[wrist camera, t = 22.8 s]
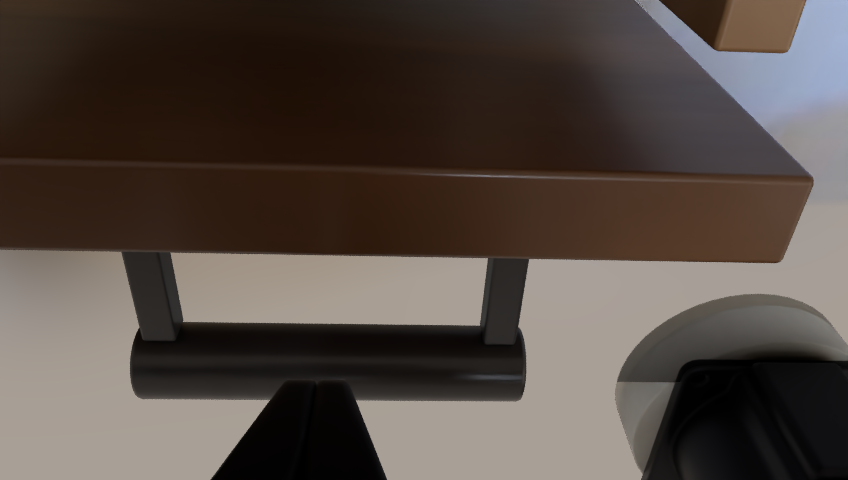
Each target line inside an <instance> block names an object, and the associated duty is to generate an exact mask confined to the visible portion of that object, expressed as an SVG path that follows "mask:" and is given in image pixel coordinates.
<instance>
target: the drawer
mask: <svg viewBox="0 0 848 480" xmlns="http://www.w3.org/2000/svg"><path fill="white" fill-rule="evenodd" d="M659 1H660V2H662V3H663V4H664V5H665V6H666V7H667V8H668V9H669V10H670V11H672V12H673V13H674V14H675V15H676V16H677V17H678V18H679V19H680V20H682V21H683V22H684V23H685V24H686V25H687V26H688V27H689V28H691V29H692V30H693V31H694V32H695V33H696V34H697V35H698V36H699V37H701V38H702V39H703V40H704V41H705V42H706V43H707V44H708V45H709V46H711V47H712V48H713V49H714V50H716V51H728V52H757V53H785V52H787V51H788V50H789V49H790V46H791V43H792V40H793V37H794V34H795V32H796V29H797V26H798V23H799V20H800V17H801V14H802V11H803V8H804V6H805V3H806V0H659ZM813 181H814V180H813V177H812V176H811V175H810V174H809V173H808V172H807V171H806V170H805V169H804V168H803V167H802V166H801V165H800V164H799V163H798V162H797V161H796V160H795V159H794V158H793V157H792V156H791V155H790V154H789V153H788V152H787V151H786V150H785V149H784V148H783V147H782V146H781V145H780V144H779V143H778V142H777V141H776V140H775V139H774V138H773V137H772V136H771V135H770V134H769V133H768V132H767V131H766V130H765V129H764V128H763V127H762V126H761V125H760V124H759V123H758V122H757V121H756V120H755V119H754V118H753V117H752V116H751V115H750V114H749V113H748V112H747V111H746V110H745V109H744V108H743V107H742V106H741V105H740V104H739V103H737V102H736V101H735V100H734V99H733V98H732V97H731V96H730V95H729V94H728V93H727V92H726V91H725V90H724V89H723V88H722V87H721V86H720V85H719V84H718V83H717V82H716V81H715V80H714V79H713V78H712V77H711V76H710V75H709V74H708V73H707V72H706V71H705V70H704V69H703V68H702V67H701V66H700V65H699V64H698V63H697V62H696V61H695V60H694V59H693V58H692V57H691V56H690V55H689V54H688V53H687V52H686V51H685V50H684V49H683V48H682V47H681V46H680V45H679V44H678V43H677V42H676V41H675V40H674V39H673V38H672V37H671V36H670V35H669V34H668V33H667V32H666V31H665V30H664V29H663V28H662V27H661V26H660V25H659V24H658V23H657V22H656V21H655V20H654V19H653V18H652V17H651V16H650V15H649V14H648V13H647V12H646V11H645V10H644V9H643V8H642V7H641V6H640V5H639V4H638V3H637V2H636V1H635V0H0V249H5V250H6V249H7V250H60V251H62V250H63V251H117V252H118V251H119V252H122V256H123V260H124V264H125V268H126V273H127V277H128V281H129V285H130V289H131V293H132V297H133V301H134V306H135V310H136V314H137V318H138V322H139V326H140V328H139V329H138V331H137V333H136V336H135V339H134V342H133V346H132V351H131V358H130V376H131V384H132V388H133V391H134V393H135V395H136V396H137V397H139V398H142V399H228V400H230V399H231V400H234V399H235V400H243V399H244V400H271V398H272V397H273V396H274V394H275V393H276V392H277V390H278V389H279V388H280V386H281V385H282V384H283V383H284V382H285V381H286V380H288V379H312V380H314V381H315V382H316V384H317V383H318V381H320V380H323V379H324V380H346V381H347V382H348V383H349V385H350V387H351V390H352V392H353V395H354V397H355V400H385V401H387V400H389V401H392V400H393V401H399V400H400V401H518V400H520V399H521V398H522V395H523V392H524V387H525V381H526V352H525V344H524V338H523V335H522V332H521V330H520V328H518V324H519V318H520V312H521V306H522V299H523V293H524V287H525V280H526V274H527V268H528V262H529V259H575V260H631V261H632V260H633V261H687V262H743V263H744V262H745V263H778V262H780V261H781V260H782V259H783V257H784V255H785V252H786V250H787V247H788V245H789V242H790V240H791V238H792V235H793V233H794V230H795V228H796V226H797V223H798V221H799V218H800V216H801V213H802V211H803V209H804V206H805V204H806V202H807V199H808V197H809V194H810V192H811V189H812V187H813ZM170 252H175V253H180V252H181V253H231V254H235V253H236V254H287V255H288V254H289V255H290V254H291V255H344V256H345V255H346V256H347V255H349V256H401V257H460V258H488V264H487V272H486V280H485V288H484V297H483V305H482V313H481V321H480V326H458V325H457V326H456V325H455V326H454V325H377V324H374V325H373V324H296V323H295V324H294V323H292V324H291V323H215V322H213V323H212V322H209V323H208V322H183V316H182V311H181V305H180V300H179V295H178V290H177V285H176V280H175V274H174V269H173V264H172V259H171V254H170Z"/></svg>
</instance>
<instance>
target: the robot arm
mask: <svg viewBox="0 0 848 480" xmlns="http://www.w3.org/2000/svg"><path fill="white" fill-rule="evenodd" d="M696 375H698V376H696ZM211 480H387V478H386V476H385V473H384V471H383V468H382V466H381V463H380V461H379V458H378V456H377V453H376V451H375V448H374V445H373V443H372V440H371V438H370V435H369V433H368V430H367V428H366V425H365V423H364V420H363V418H362V415H361V413H360V410H359V407H358V405H357V402H356V400H355V397H354V395H353V392H352V390H351V387H350V385H349V383H348V382H347V381H346V380H324V379H323V380H320V381H318V383H317V384H316V382H315V381H314V380H312V379H288V380H286V381H285V382H284V383H283V384H282V385H281V386H280V388H279V389H278V390H277V392H276V393H275V394H274V396H273V397H272V398H271V400H270V401H269V403H268V404H267V405H266V406H265V408H264V409H263V410H262V412H261V413H260V414H259V416H258V417H257V419H256V420H255V421H254V422H253V424H252V425H251V427H250V428H249V429H248V430H247V432H246V433H245V434H244V436H243V437H242V438H241V440H240V441H239V442H238V444H237V445H236V446H235V448H234V449H233V450H232V452H231V453H230V454H229V456H228V457H227V458H226V460H225V461H224V463H223V464H222V465H221V467H220V468H219V469H218V471H217V472H216V473H215V475H214V476H213V477H212V479H211ZM641 480H848V361H819V360H717V359H697V360H692V361H689V362H687V363H685V364H684V365H683V366H682V367H681V368H680V370H679V372H678V375H677V378H676V381H675V384H674V387H673V390H672V392H671V395H670V398H669V401H668V404H667V407H666V410H665V412H664V415H663V418H662V421H661V424H660V427H659V430H658V433H657V435H656V438H655V441H654V444H653V447H652V450H651V453H650V456H649V458H648V461H647V464H646V467H645V470H644V473H643V476H642V479H641Z"/></svg>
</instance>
